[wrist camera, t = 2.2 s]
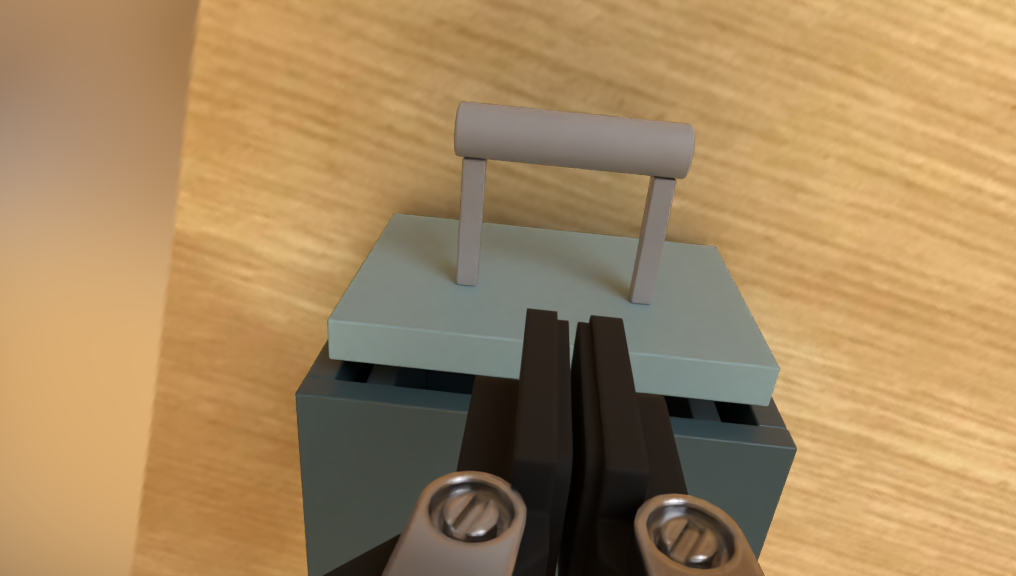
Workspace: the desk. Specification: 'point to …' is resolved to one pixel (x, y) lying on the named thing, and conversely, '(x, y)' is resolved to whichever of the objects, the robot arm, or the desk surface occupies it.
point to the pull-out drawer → (554, 275)
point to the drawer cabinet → (436, 448)
